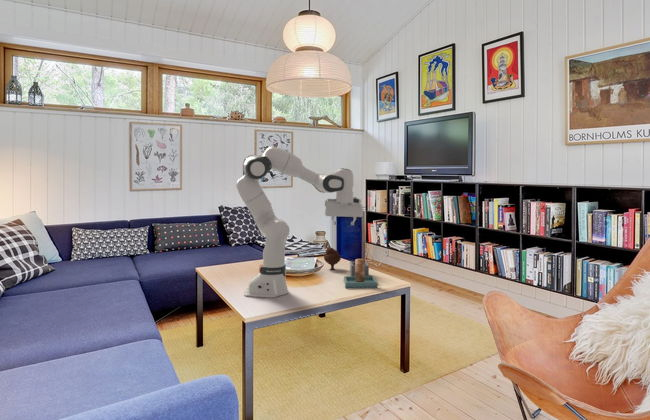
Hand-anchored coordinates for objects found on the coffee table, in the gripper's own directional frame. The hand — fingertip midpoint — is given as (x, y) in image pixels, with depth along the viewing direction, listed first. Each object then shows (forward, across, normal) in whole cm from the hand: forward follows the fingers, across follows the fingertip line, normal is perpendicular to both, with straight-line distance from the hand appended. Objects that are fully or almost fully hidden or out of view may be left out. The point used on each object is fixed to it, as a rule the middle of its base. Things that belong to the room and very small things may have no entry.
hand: (343, 225), depth 210 cm
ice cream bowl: (+34, -3, +37) cm, 50 cm away
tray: (+33, +11, +5) cm, 36 cm away
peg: (+32, +11, +5) cm, 35 cm away
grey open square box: (+33, +12, +20) cm, 40 cm away
